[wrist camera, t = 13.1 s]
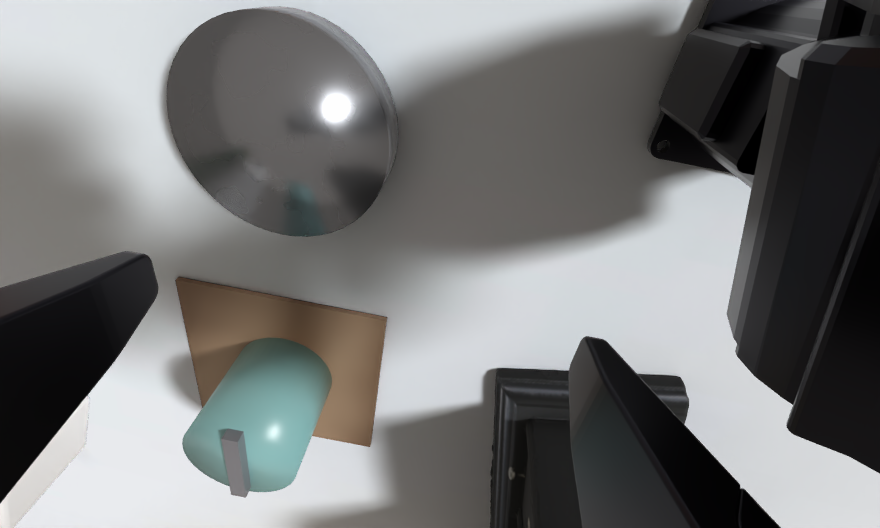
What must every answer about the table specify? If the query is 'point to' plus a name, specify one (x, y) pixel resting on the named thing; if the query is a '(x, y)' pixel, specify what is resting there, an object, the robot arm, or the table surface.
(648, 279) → the table surface
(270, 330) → the walnut board
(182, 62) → the silver metal disc
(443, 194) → the table surface
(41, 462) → the medicine bottle
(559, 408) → the black drawer cabinet
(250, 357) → the teal cap
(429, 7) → the table surface
